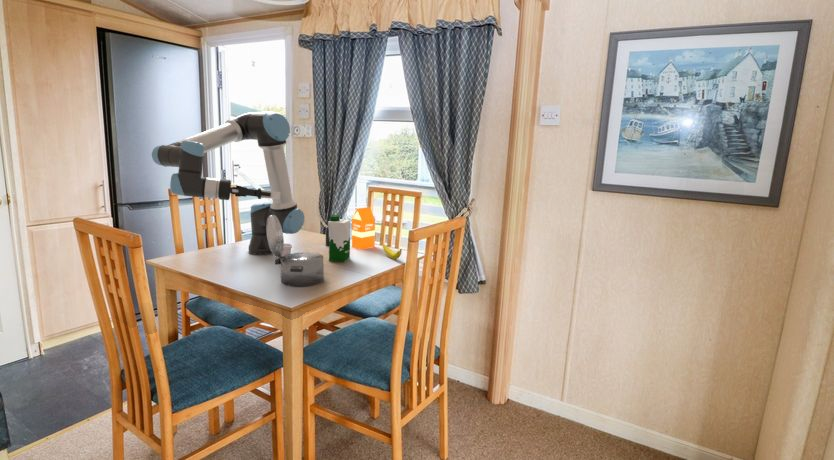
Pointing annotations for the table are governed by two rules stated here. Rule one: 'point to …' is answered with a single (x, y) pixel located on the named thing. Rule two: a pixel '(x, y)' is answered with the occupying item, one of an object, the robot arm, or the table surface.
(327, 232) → the supplement bottle
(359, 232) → the orange juice
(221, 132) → the robot arm
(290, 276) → the cooker
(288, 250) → the smoothie
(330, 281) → the table surface
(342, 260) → the milk carton
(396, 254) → the banana
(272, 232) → the lid
